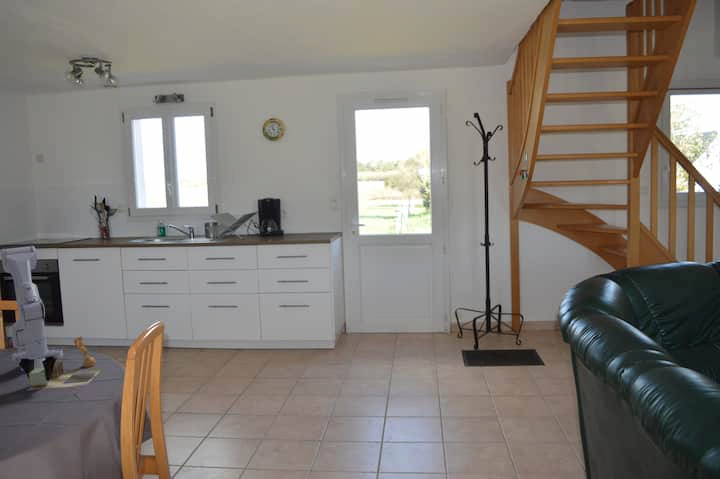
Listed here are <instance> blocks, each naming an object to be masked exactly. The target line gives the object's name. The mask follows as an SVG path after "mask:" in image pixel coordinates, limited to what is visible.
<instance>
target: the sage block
mask: <svg viewBox="0 0 720 479" xmlns="http://www.w3.org/2000/svg"><path fill="white" fill-rule="evenodd" d="M29 379H30V381H29V385H30V387H31V386H32V385H44V384H46V383H47V382H49V381H50V380H49V381H47V380H46V374H45V369H44V368H35V369H34V370H33V371H31V372H30V373H29V378H28V380H29Z"/></svg>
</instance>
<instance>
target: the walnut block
mask: <svg viewBox="0 0 720 479" xmlns="http://www.w3.org/2000/svg"><path fill="white" fill-rule="evenodd" d="M63 363H64V362H63V361H56V362H55V364H54V367H53V372H52V378H58V377H60V376H61V375H62V374H63V373H64V372H65V371H64V365H63ZM42 368H44V366H43V367H42Z"/></svg>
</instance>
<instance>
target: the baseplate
mask: <svg viewBox="0 0 720 479" xmlns="http://www.w3.org/2000/svg"><path fill="white" fill-rule="evenodd" d="M102 370H103V368H100V369H99V368H98V369H87V370H76V371H72V370H71V371H64V373H63V374H62V375H61V376H60V377H58V378H52V379H51V380H50V381H49V382H47V383H46V384H44V385H31V386H30V387H28V388H27V389H26V391H33V390H35V391H36V390H48V389H60V388H61V389H62V388H73V387H86V386H87V385H88V384H90V383H91V382H92V380H93V379H94V378H95V377H96V376H97V375H98V374H99V373H100V372H101V371H102Z"/></svg>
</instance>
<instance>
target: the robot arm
mask: <svg viewBox="0 0 720 479" xmlns="http://www.w3.org/2000/svg"><path fill="white" fill-rule="evenodd" d="M0 256H1V263H2V268H3V271H4V272H5V273H7V274H8V273H9V274H10V275H11V277H12V279H13V284H14V291H15V297H16V305H17V311H18V313H17V314H18V318H19V319H18V320H17V321H16V322H14V323H13V324H12V325H11V327H10V330H11V341H12V347H13V348H15V349H18V352H17V353H14V354H12V355H11V360H12V362H17V361H19V363H18V365H19V366H18V367H20V371H22V372H24V373H25V374H26V376H27V378H28V382H30V379H29V373H30V372H31V371H33V370H34V369H35V368H42V367H43V366H44V369H45V374H46V380H47V381H49V380H51V379H52V372H53V367H54V364H55V362H57V359H61V358H63V357H64V353H63V349H60V350H58V349H48V344H47V333H46V328H45V319H46V318H45V317H46V311H45V310H46V309H45V305H44V303H43V301H42V298H40V293H39V290H38V285H37V284H35V283H33V281H32V270H34V269H35V268H36V265H37V262H38V261H37V260H38V258H37V251H36V247H35V246H34V245H30V246H21V247H20V246H19V247H12V248H2V249H0Z"/></svg>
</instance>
